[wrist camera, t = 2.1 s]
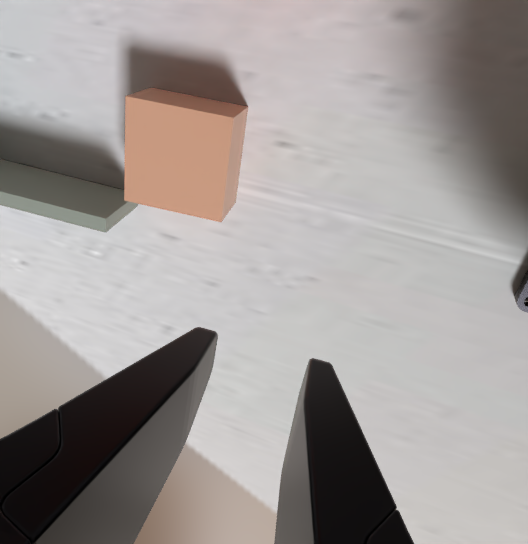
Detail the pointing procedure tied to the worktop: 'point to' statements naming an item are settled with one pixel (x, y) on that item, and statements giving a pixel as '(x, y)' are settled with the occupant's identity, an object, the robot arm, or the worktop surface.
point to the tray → (62, 197)
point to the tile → (183, 152)
